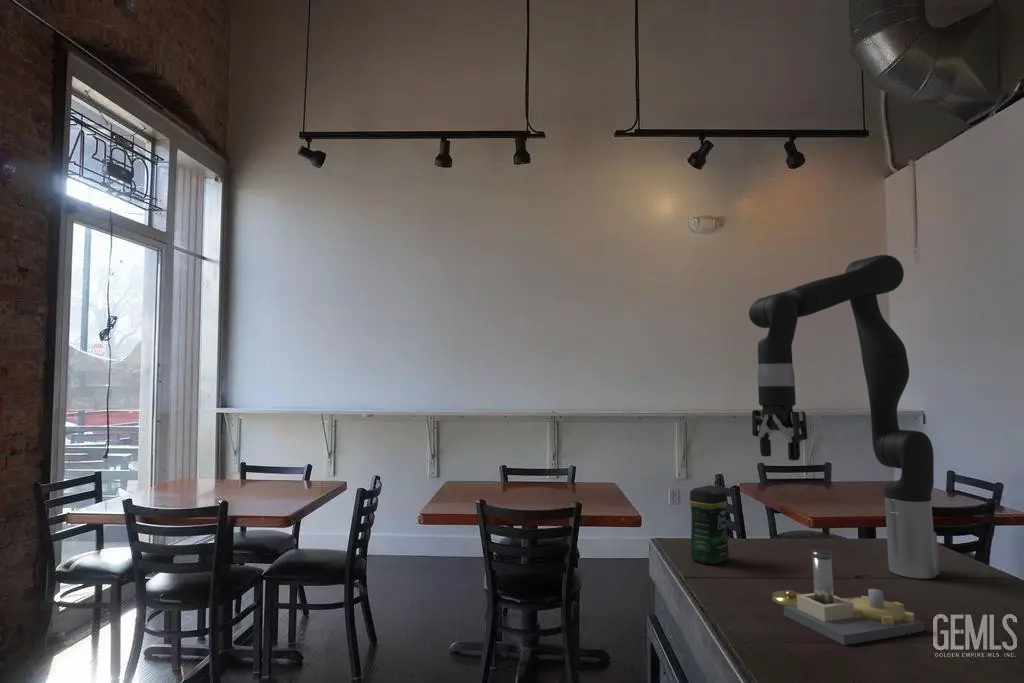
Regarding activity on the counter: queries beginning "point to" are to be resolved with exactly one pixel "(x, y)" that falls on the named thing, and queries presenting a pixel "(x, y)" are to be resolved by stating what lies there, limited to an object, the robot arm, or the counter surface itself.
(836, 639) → the gear board
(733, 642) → the counter surface
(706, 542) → the coffee jar
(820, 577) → the grey cylinder peg
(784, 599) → the brass knob disc
